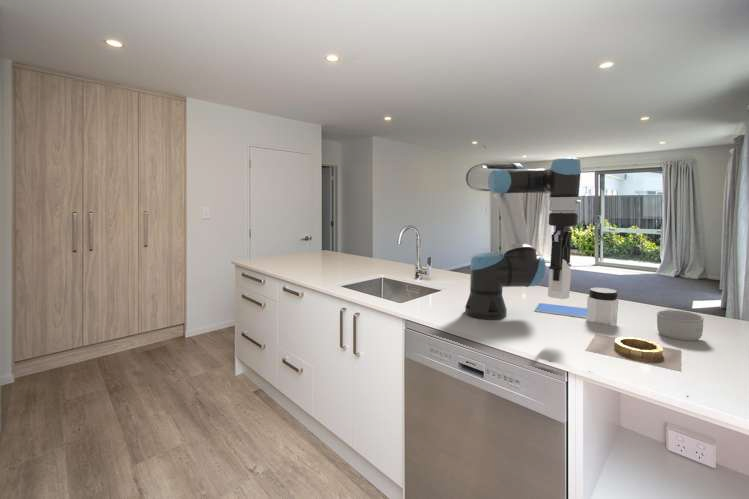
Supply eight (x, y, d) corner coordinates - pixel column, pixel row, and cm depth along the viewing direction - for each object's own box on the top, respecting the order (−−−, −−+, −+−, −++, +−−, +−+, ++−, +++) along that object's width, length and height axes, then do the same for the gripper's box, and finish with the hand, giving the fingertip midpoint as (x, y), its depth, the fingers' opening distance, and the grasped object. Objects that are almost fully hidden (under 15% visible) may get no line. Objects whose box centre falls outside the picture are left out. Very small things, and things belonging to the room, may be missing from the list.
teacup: (705, 349, 101) (708, 322, 100) (657, 342, 107) (659, 316, 106) (694, 334, 113) (697, 309, 112) (651, 328, 119) (653, 305, 118)
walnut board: (585, 355, 98) (585, 350, 98) (595, 338, 110) (595, 334, 110) (680, 377, 85) (681, 371, 85) (680, 355, 97) (681, 350, 97)
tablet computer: (533, 312, 140) (533, 309, 139) (538, 305, 150) (538, 302, 150) (591, 320, 129) (591, 317, 129) (592, 311, 140) (592, 308, 140)
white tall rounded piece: (567, 256, 110) (575, 259, 104) (565, 294, 111) (573, 299, 106) (547, 256, 110) (554, 258, 105) (544, 294, 112) (551, 298, 106)
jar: (607, 330, 118) (610, 294, 116) (582, 323, 125) (584, 289, 123) (620, 324, 123) (622, 290, 121) (595, 318, 130) (597, 286, 128)
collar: (611, 352, 96) (612, 345, 96) (617, 341, 104) (617, 334, 104) (661, 363, 90) (661, 355, 89) (662, 350, 98) (663, 343, 97)
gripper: (570, 213, 96) (565, 297, 99) (584, 211, 110) (579, 285, 113) (540, 212, 101) (536, 293, 104) (557, 211, 115) (553, 282, 118)
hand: (559, 289), depth 108 cm, fingers closed on white tall rounded piece, 6 cm apart
